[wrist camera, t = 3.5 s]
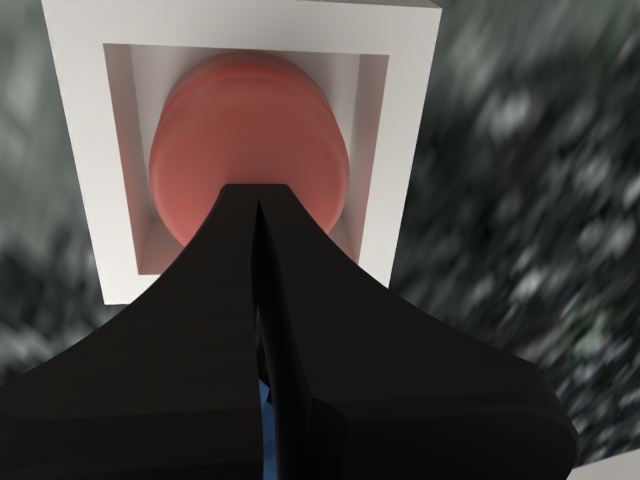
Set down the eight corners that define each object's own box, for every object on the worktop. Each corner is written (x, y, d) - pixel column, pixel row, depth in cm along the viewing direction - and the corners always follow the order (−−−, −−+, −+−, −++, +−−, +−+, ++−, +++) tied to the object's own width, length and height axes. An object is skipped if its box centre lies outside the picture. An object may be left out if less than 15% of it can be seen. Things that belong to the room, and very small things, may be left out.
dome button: (326, 206, 16) (354, 310, 13) (168, 207, 16) (147, 317, 12) (340, 50, 14) (383, 120, 10) (151, 42, 13) (117, 114, 9)
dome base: (366, 238, 18) (386, 295, 16) (123, 241, 17) (104, 304, 14) (404, -17, 14) (442, 9, 11) (77, -37, 12) (38, -14, 10)
